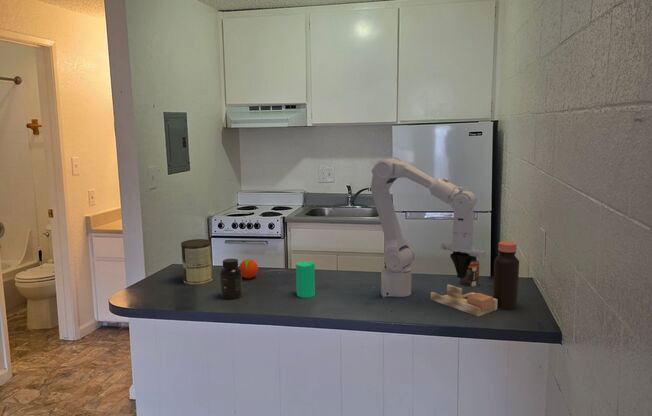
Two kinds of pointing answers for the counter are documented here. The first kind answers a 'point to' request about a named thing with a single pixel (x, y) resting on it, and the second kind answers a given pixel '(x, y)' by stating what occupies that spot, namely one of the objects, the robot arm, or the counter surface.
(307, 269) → the candle
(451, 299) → the wooden tray
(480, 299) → the block
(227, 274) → the supplement bottle
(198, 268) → the coffee can
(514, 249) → the vinegar
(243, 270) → the red tomato
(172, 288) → the counter surface
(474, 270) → the supplement bottle
